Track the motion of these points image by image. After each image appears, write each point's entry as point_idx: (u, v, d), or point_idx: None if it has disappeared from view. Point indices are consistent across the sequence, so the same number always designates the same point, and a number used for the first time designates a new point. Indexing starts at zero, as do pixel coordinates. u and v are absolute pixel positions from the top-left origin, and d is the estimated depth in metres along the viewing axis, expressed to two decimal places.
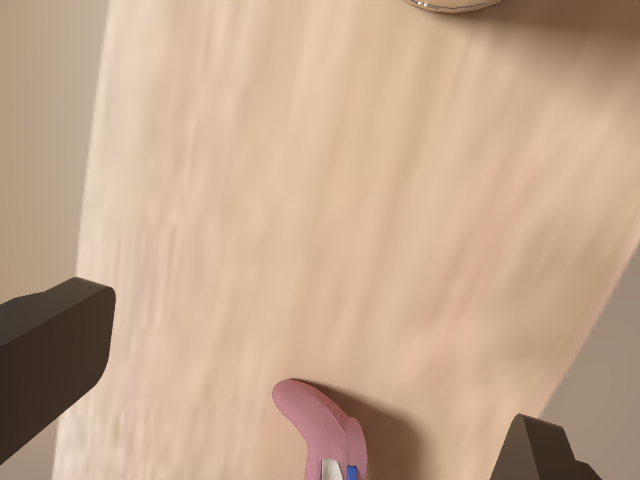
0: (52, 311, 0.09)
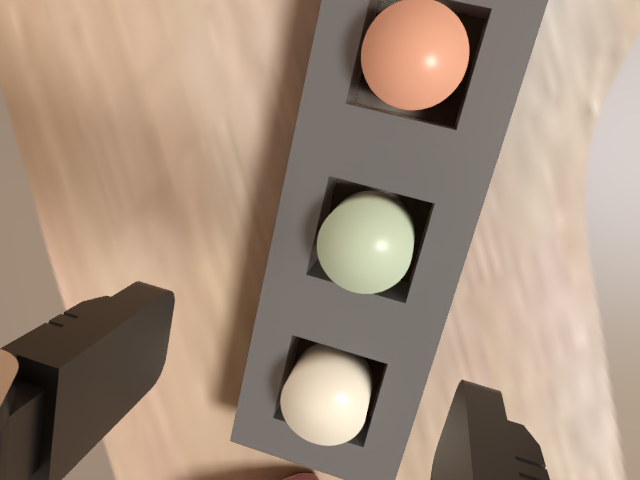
0: (124, 314, 0.10)
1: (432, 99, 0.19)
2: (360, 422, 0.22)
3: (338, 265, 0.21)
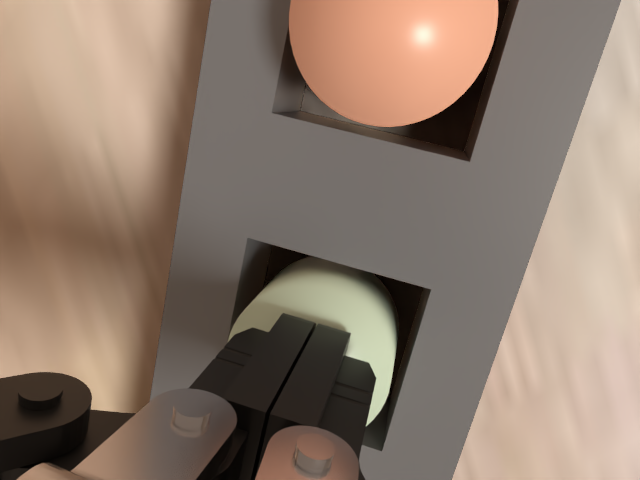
0: (290, 350, 0.10)
1: (426, 106, 0.10)
2: None
3: None
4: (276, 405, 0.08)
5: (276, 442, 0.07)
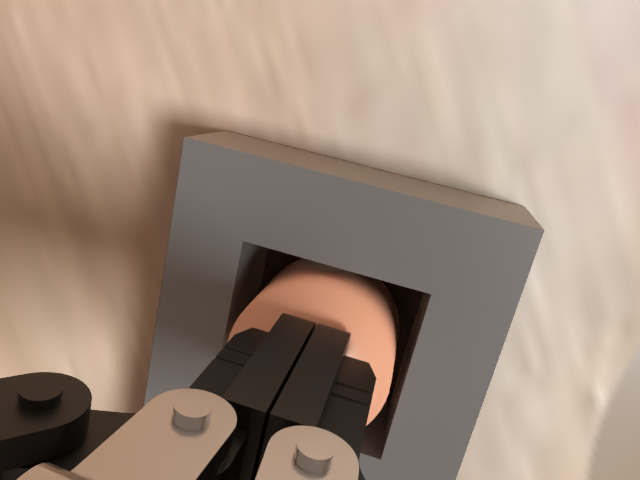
0: (290, 350, 0.10)
1: None
2: None
3: None
4: (276, 405, 0.08)
5: (276, 442, 0.07)
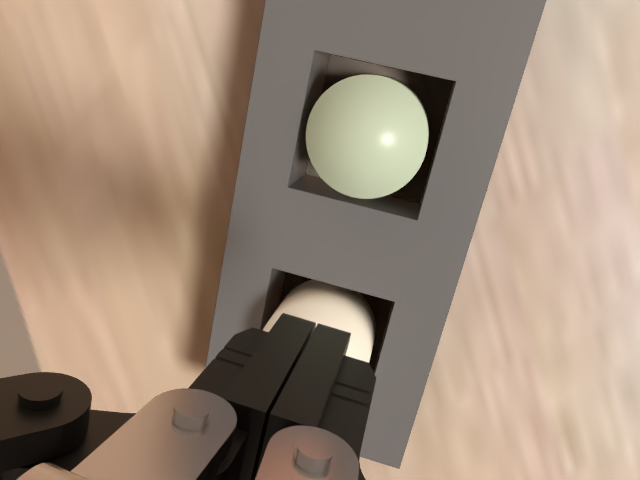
0: (290, 350, 0.10)
1: None
2: None
3: (333, 163, 0.16)
4: (276, 405, 0.08)
5: (276, 442, 0.07)
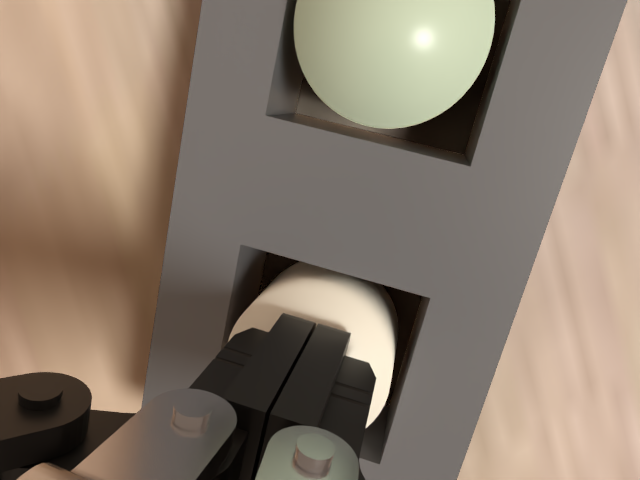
0: (290, 350, 0.10)
1: None
2: (378, 398, 0.11)
3: (337, 70, 0.10)
4: (276, 405, 0.08)
5: (276, 442, 0.07)
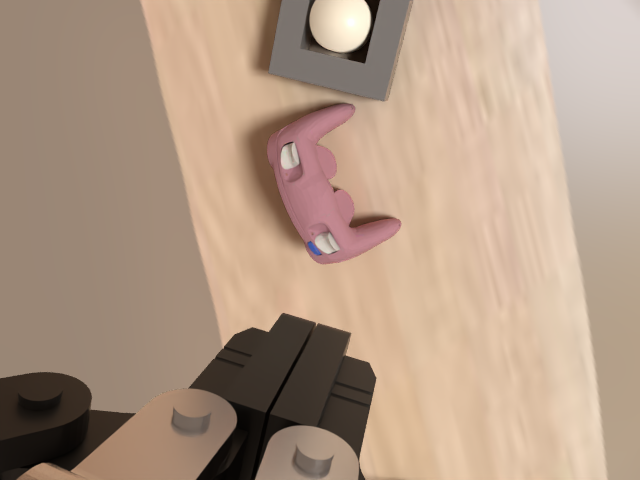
0: (290, 350, 0.10)
1: None
2: (364, 28, 0.33)
3: None
4: (276, 405, 0.08)
5: (276, 442, 0.07)
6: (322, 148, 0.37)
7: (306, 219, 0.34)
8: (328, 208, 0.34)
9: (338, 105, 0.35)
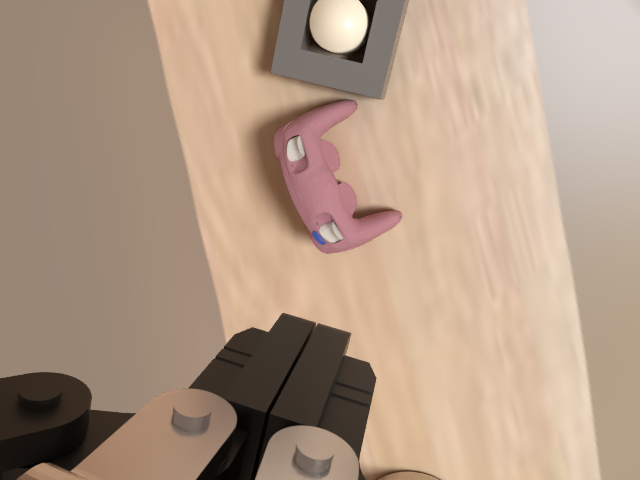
0: (290, 350, 0.10)
1: None
2: (362, 29, 0.34)
3: None
4: (276, 405, 0.08)
5: (276, 442, 0.07)
6: (326, 143, 0.38)
7: (311, 209, 0.35)
8: (332, 199, 0.35)
9: (341, 101, 0.37)
